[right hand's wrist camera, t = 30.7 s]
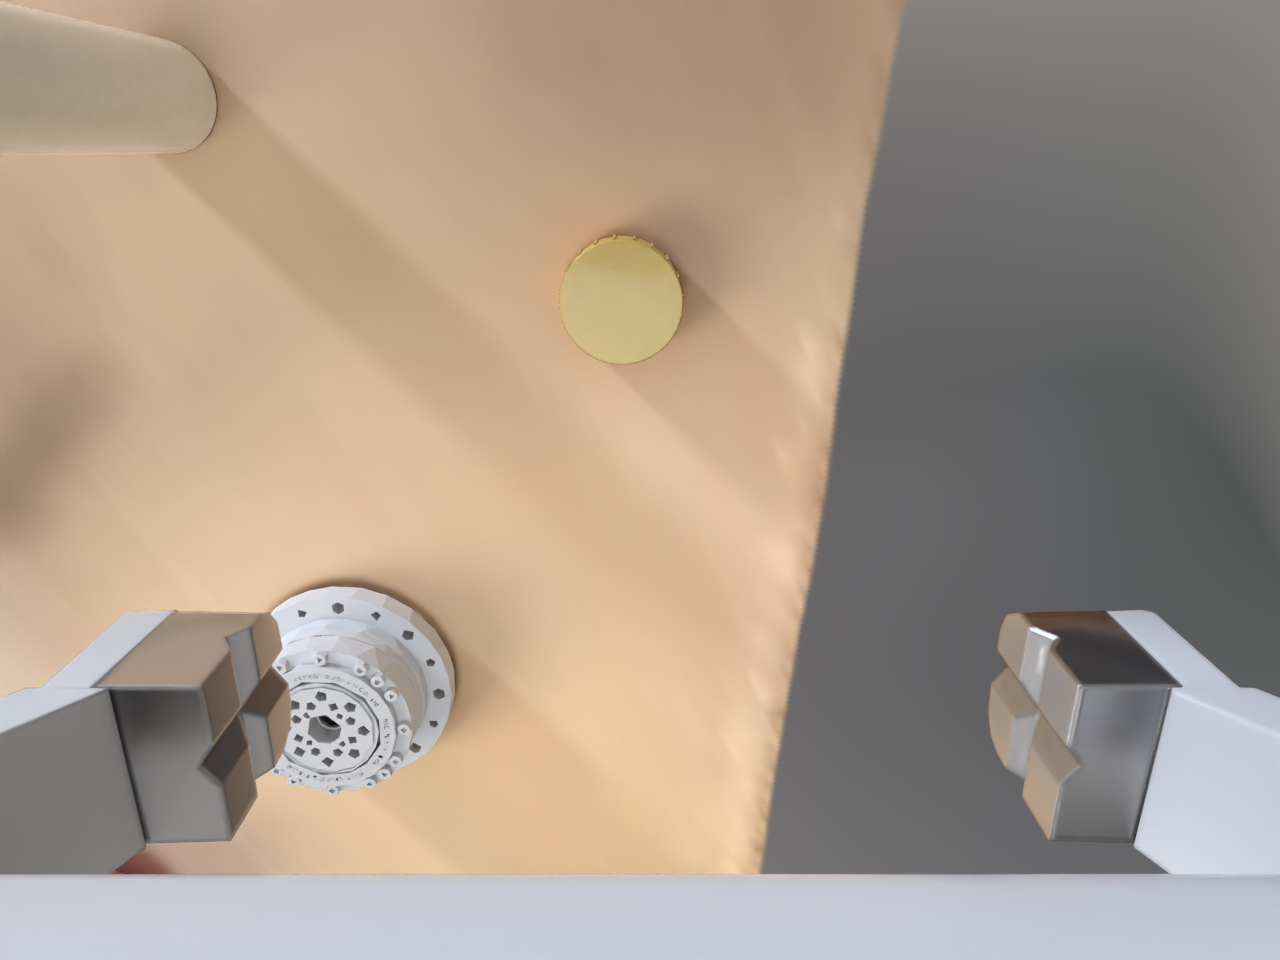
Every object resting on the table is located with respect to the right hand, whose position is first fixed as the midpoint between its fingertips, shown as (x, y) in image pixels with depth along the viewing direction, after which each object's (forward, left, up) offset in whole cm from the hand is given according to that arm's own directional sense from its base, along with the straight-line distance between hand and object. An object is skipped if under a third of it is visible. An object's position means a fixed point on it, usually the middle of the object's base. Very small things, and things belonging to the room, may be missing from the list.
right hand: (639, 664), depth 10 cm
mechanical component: (+19, +13, -29) cm, 37 cm away
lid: (+1, 0, -27) cm, 27 cm away
